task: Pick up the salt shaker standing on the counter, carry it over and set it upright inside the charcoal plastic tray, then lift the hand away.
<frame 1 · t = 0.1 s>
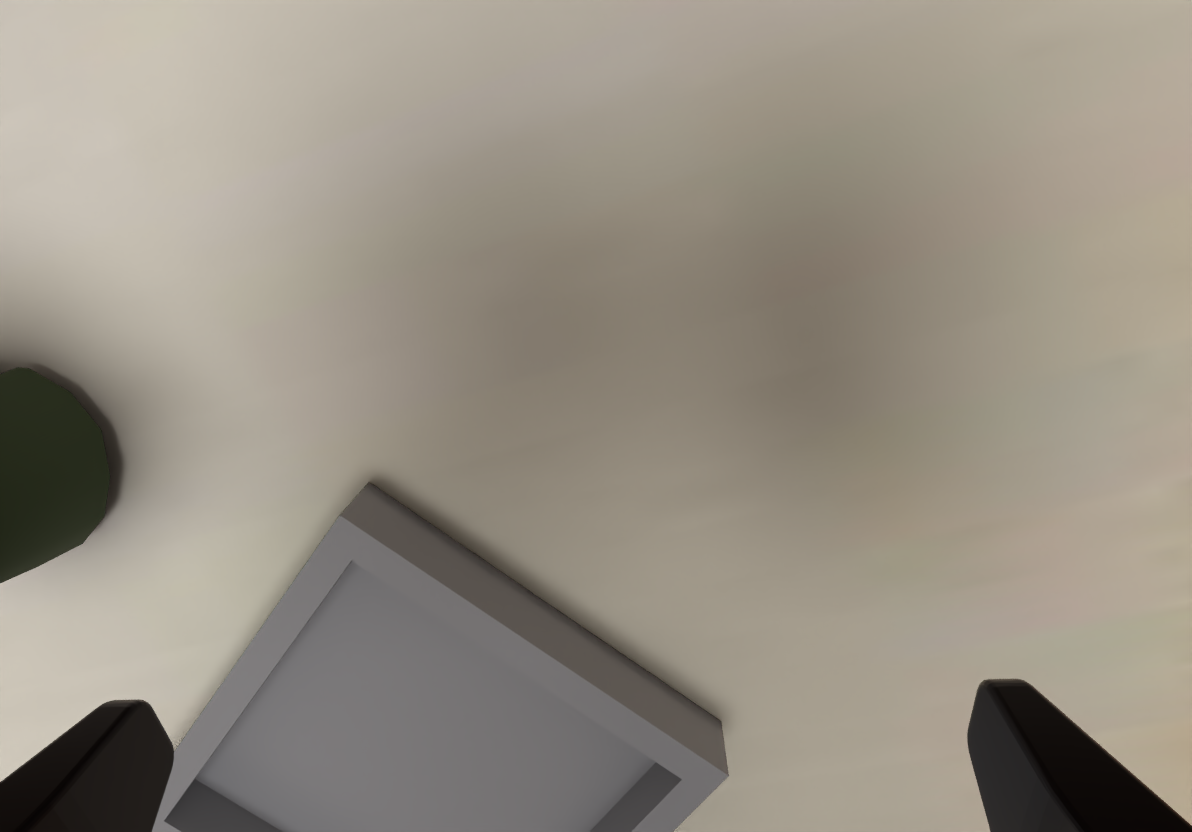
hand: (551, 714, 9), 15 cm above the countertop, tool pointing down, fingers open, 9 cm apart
character mug: (35, 453, 26), on the countertop
charcoal tray: (434, 746, 28), on the countertop
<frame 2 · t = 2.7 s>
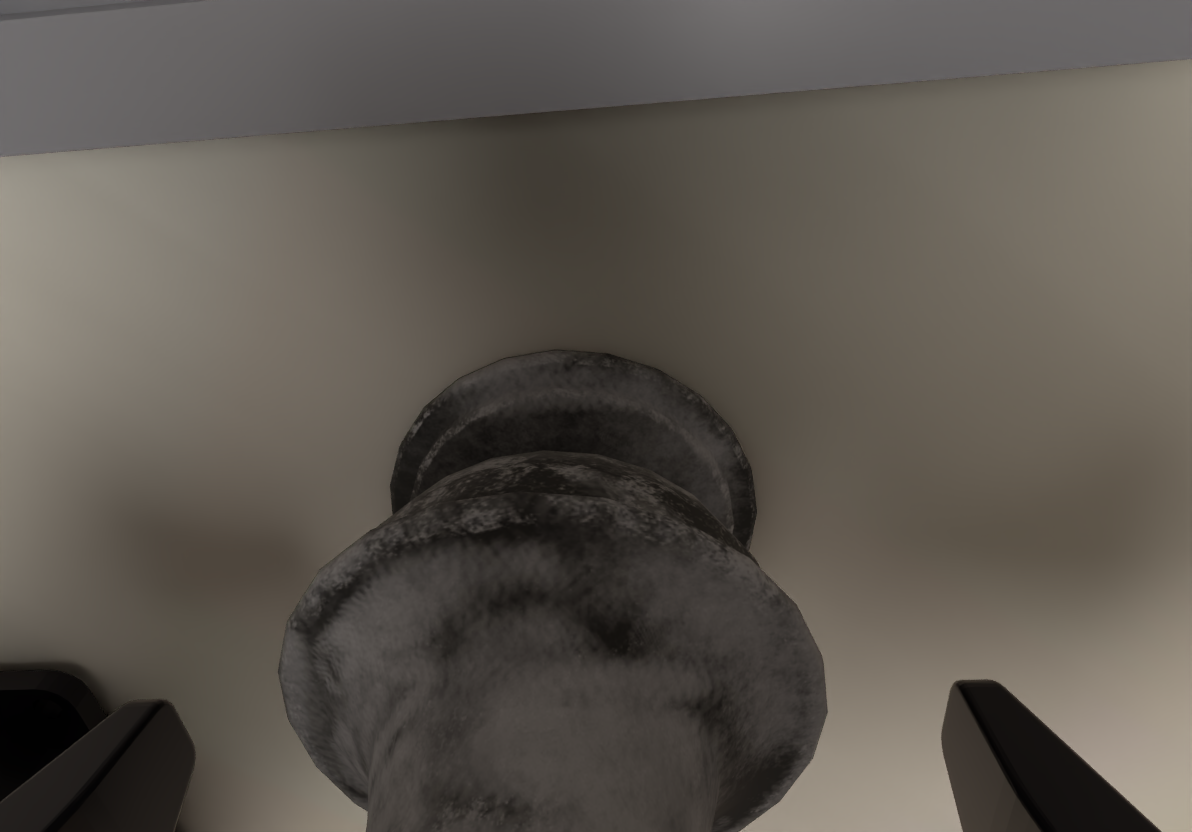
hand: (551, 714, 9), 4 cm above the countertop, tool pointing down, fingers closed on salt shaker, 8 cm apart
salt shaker: (573, 503, 12), on the countertop, touching gripper
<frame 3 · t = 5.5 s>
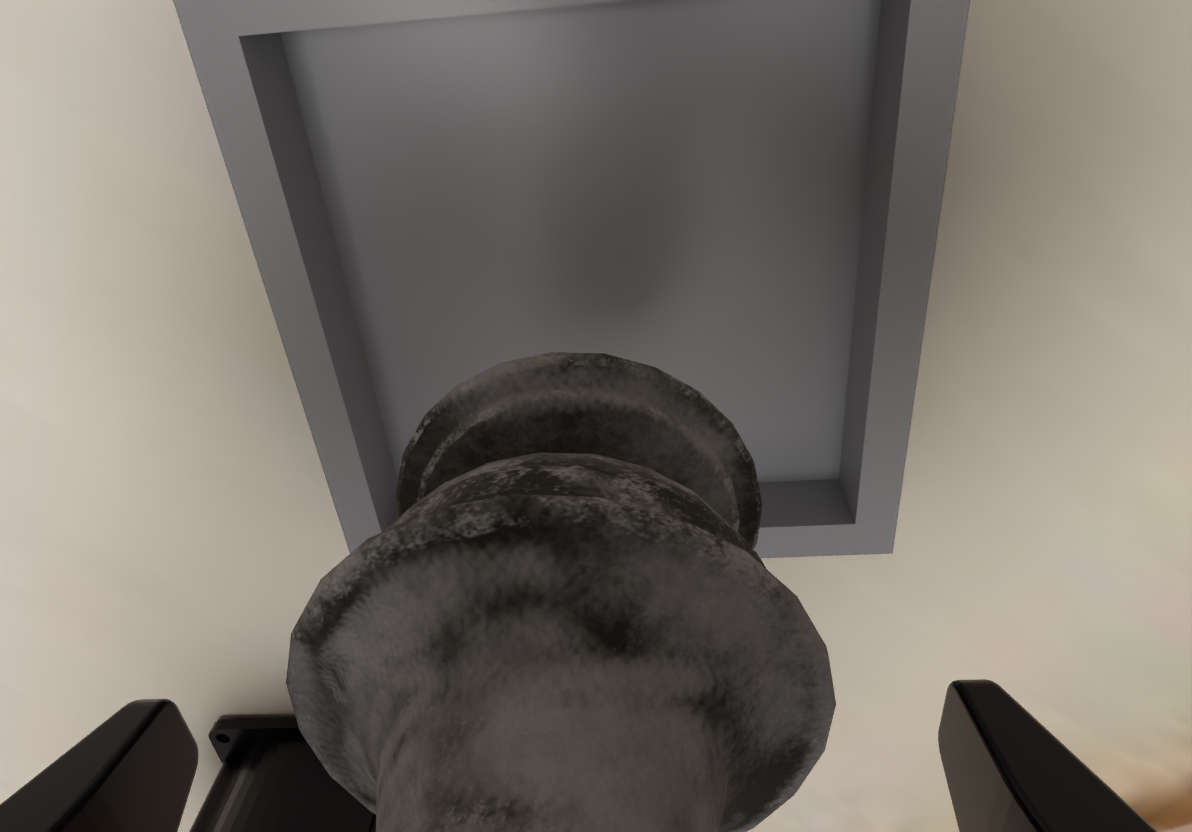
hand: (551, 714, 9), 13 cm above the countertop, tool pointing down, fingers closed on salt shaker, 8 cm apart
charcoal tray: (598, 274, 19), on the countertop
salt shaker: (579, 504, 12), point 9 cm above the countertop, touching gripper
when the fingers open (5 cm above the countertop, at t = 8.2 s): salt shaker drops 1 cm, resting on charcoal tray.
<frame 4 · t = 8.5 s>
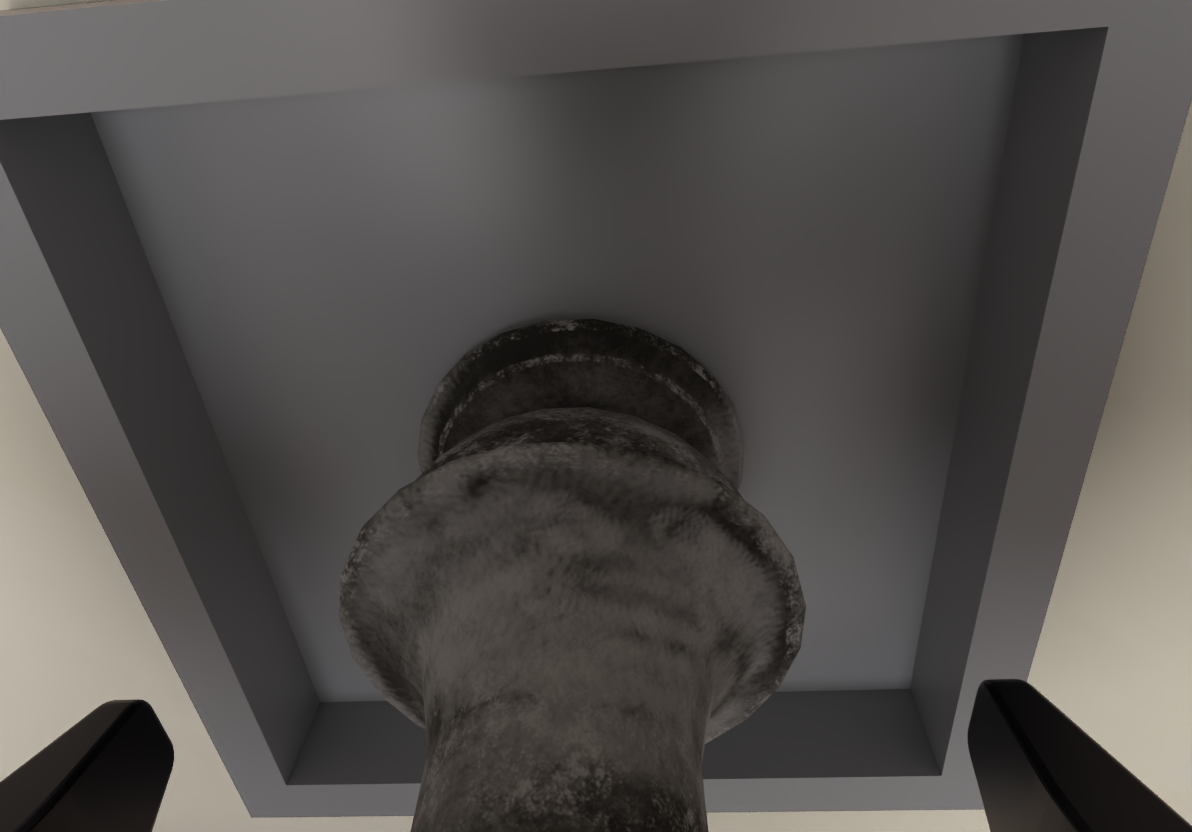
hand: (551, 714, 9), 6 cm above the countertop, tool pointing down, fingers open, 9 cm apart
charcoal tray: (580, 430, 14), on the countertop
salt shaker: (581, 455, 13), point 1 cm above the countertop, touching charcoal tray
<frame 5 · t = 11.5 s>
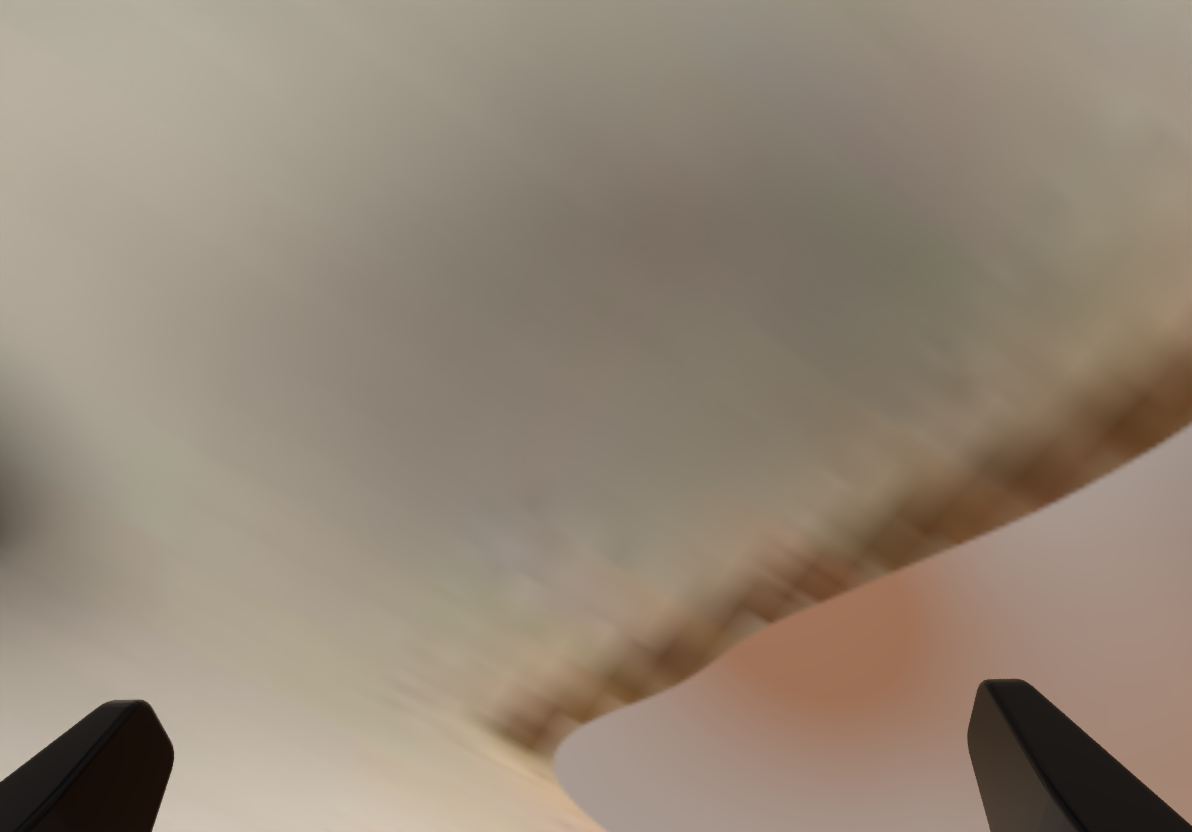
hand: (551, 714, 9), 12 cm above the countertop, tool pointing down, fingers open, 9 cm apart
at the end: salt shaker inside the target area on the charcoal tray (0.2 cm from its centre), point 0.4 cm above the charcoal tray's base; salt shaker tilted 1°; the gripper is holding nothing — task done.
